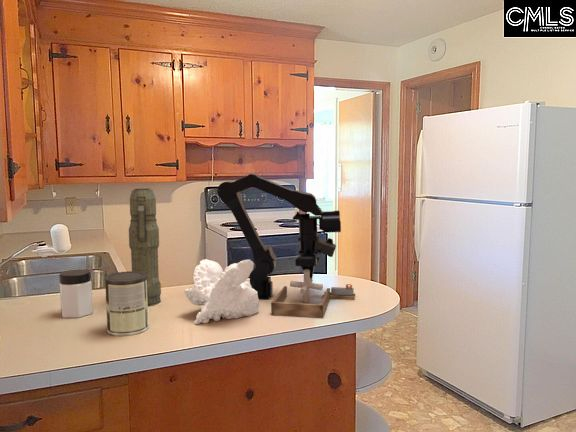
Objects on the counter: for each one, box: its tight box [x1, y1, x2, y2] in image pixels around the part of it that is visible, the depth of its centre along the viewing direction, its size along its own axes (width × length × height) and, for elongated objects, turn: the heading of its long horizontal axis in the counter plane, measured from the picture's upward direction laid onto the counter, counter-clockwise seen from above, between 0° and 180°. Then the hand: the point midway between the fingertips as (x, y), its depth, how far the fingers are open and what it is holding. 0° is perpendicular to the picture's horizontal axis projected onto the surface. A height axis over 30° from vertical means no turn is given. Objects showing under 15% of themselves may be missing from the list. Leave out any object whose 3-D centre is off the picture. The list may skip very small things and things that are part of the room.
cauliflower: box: [183, 258, 260, 325], centre depth 132 cm, size 19×20×20 cm
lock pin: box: [330, 283, 355, 296], centre depth 150 cm, size 7×2×4 cm, turn 79°
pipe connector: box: [289, 269, 324, 303], centre depth 145 cm, size 10×10×10 cm
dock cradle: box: [270, 285, 356, 319], centre depth 142 cm, size 22×23×4 cm
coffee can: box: [104, 270, 150, 337], centre depth 121 cm, size 10×10×14 cm
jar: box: [58, 268, 94, 319], centre depth 134 cm, size 9×8×12 cm
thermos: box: [128, 188, 162, 307], centre depth 144 cm, size 9×12×35 cm
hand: (310, 280), depth 151 cm, fingers closed
